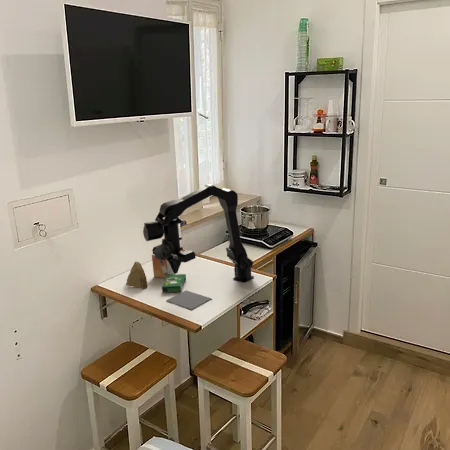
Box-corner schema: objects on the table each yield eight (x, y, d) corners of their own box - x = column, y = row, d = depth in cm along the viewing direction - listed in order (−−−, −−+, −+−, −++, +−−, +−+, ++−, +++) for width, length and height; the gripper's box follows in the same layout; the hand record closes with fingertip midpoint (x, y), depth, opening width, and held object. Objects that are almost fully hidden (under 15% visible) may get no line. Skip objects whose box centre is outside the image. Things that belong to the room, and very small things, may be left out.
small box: (153, 277, 212) (151, 254, 209) (161, 272, 217) (158, 250, 214) (168, 279, 208) (166, 256, 205) (175, 274, 213) (173, 252, 210)
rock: (154, 282, 200) (150, 271, 209) (140, 270, 196) (136, 259, 205) (135, 299, 201) (131, 287, 209) (120, 288, 196) (118, 276, 205)
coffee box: (181, 292, 194) (186, 279, 207) (181, 286, 193) (185, 273, 206) (162, 293, 195) (168, 280, 207) (161, 286, 194) (167, 273, 207)
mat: (211, 299, 186) (211, 298, 186) (191, 310, 178) (191, 309, 178) (186, 291, 195) (186, 290, 195) (166, 301, 187) (166, 300, 187)
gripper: (139, 237, 183) (144, 275, 188) (173, 245, 172) (177, 285, 176) (161, 230, 191) (165, 266, 196) (194, 237, 179) (198, 275, 184)
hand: (175, 273), depth 188 cm, fingers closed
